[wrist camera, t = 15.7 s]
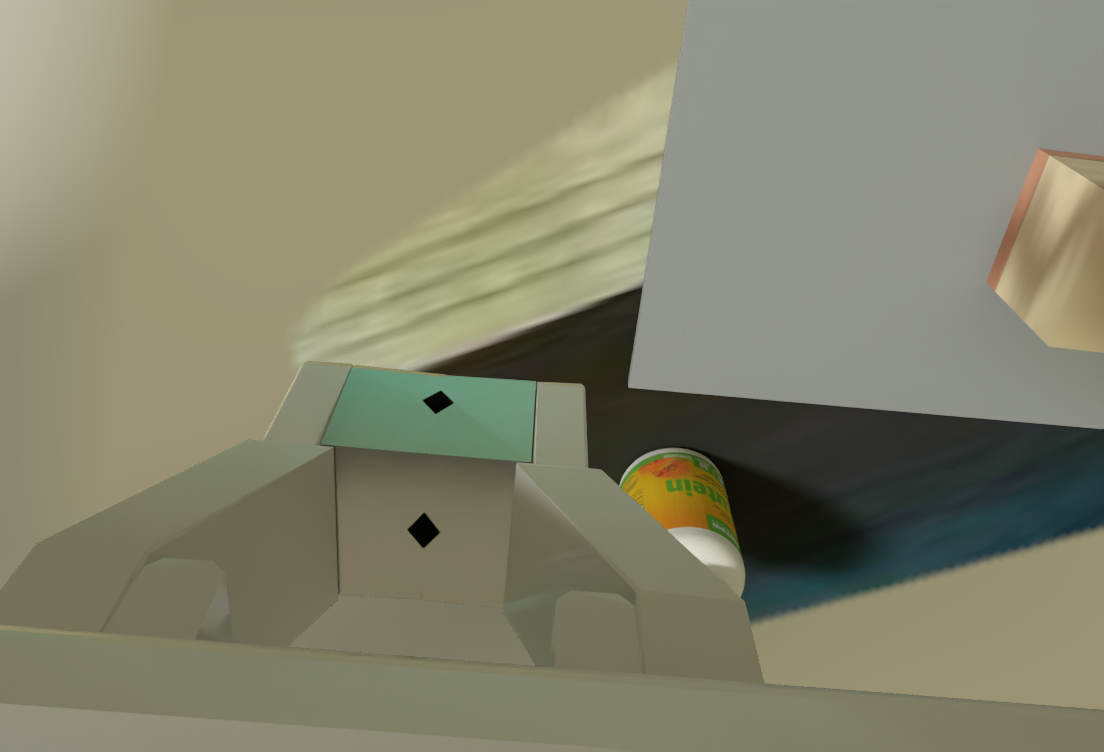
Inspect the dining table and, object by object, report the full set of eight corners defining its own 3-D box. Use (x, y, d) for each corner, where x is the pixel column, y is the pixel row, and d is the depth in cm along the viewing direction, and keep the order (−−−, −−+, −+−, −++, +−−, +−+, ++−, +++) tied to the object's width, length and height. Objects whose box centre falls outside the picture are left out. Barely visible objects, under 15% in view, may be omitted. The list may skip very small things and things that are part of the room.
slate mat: (701, -85, 33) (703, -85, 33) (1331, -18, 34) (1341, -16, 34) (628, 382, 43) (628, 387, 43) (1117, 425, 44) (1122, 430, 44)
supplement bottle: (742, 464, 46) (781, 602, 37) (694, 541, 48) (721, 687, 40) (644, 430, 45) (662, 563, 36) (600, 510, 47) (608, 652, 39)
